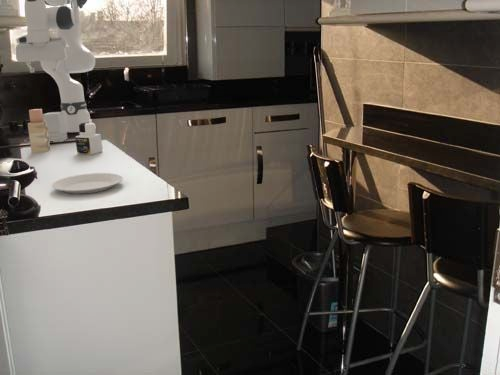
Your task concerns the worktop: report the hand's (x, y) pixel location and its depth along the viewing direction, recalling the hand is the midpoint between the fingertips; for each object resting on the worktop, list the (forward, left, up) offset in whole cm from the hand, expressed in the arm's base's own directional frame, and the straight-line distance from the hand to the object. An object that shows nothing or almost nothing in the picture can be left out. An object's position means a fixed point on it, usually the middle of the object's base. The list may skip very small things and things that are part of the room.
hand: (43, 71), depth 248 cm
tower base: (+13, -2, -31) cm, 34 cm away
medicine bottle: (+24, +20, -31) cm, 44 cm away
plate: (+81, +30, -32) cm, 92 cm away
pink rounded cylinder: (+13, -2, -19) cm, 23 cm away
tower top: (+13, -2, -23) cm, 27 cm away
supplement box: (-10, -1, -31) cm, 33 cm away
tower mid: (+13, -2, -27) cm, 30 cm away
